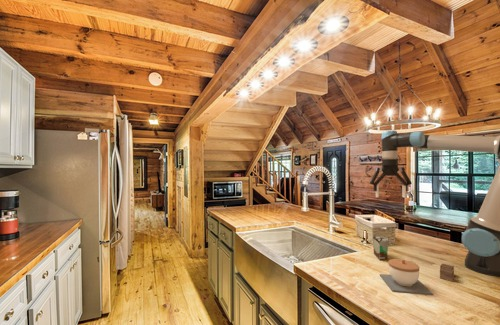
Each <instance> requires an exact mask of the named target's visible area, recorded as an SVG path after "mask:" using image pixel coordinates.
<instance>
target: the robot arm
mask: <svg viewBox="0 0 500 325" xmlns="http://www.w3.org/2000/svg"><path fill="white" fill-rule="evenodd" d="M380 141H381V158H382V159H381V167H376V168H375V172H374V174H373V176H372V178H371V180H370V181H369V184H371V185H373V191H374V192H375V198H380V190H379V186H380V185H378V184H379V183H380V182H381V181H382V180H383V179H384V178H385V177H386V176H389V177H390V176H391V177H394V176H395V177H396V178H397V179H398V181H400V182H401V184H402V185H401V190H402V191H401V194H402V196H401V197H402V198H407V192H408V191H409V188H408V187H409V186H410V185H412V181H411V179H410V178H409V176H408V174H407V171H406V170H405V167H399V159H398V158H399V157H398V156H399V154H398V148H400V149H401V148H414V149H425V150H427V149H429V150H442V151H443V150H444V151H456V152H457V151H458V152H469V153H470V152H471V153H472V152H473V153H474V152H475V153H484V154H485V153H487V154H488V153H489V154H494V155H496V156H497V158H496V160H497V162H498V163H499V166H498V167H497V170H496V172H495V174H494V177H493V180H492V182H491V183H490V186H489V188H488V191H487V193H486V195H485V198H484V199H483V202H482V205H480V209H479V210H478V214H477V215H476V216H473V217H470V218H469V219H468V221H467V226H466V228H465V230H464V232H462V234H461V243H462V245H463V246H464V247H465V248H466V250H467V254H466V256H465V259H464V267H466V268H467V269H469V270H472V271H473V272H477V273H480V274H484V275H488V276H493V277H500V134H499V135H497V136H489V135H488V136H487V135H483V136H482V135H480V136H479V135H445V134H444V135H443V134H425V133H424V132H423V131H411V132H404V133H398V131H397V130H384V131H383V132H382V133H381V140H380ZM381 172H382V173H381ZM398 172H400V173H401V175H402V176H403V177H402V176H401V175H400V174H399V173H398ZM380 173H381V175H379V174H380ZM378 176H379V177H378Z"/></svg>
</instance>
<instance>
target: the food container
mask: <svg viewBox="0 0 500 325" xmlns="http://www.w3.org/2000/svg"><path fill="white" fill-rule="evenodd" d="M372 246H373V255H374V256H375V257H376V258H377V259H378V261H386V260H388V253H389V252H388V249H389V246H390V245H389V241H388V239H387V238H385V237H381V236H374V235H373V245H372Z"/></svg>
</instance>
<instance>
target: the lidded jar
mask: <svg viewBox="0 0 500 325" xmlns="http://www.w3.org/2000/svg"><path fill="white" fill-rule="evenodd" d="M387 262H388V270H389V271H388V272H389V275H391V276H392V278H393V279H394V280H395V282H396V283H398V284H400V285H403V286H413V284H415V283H416V282H417V280H419V277H420V266H419V265H418V264H417V263H415V262H413V261H410V260H407V259H401V258H400V259H399V258H391V259H389V260H388V261H387Z"/></svg>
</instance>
